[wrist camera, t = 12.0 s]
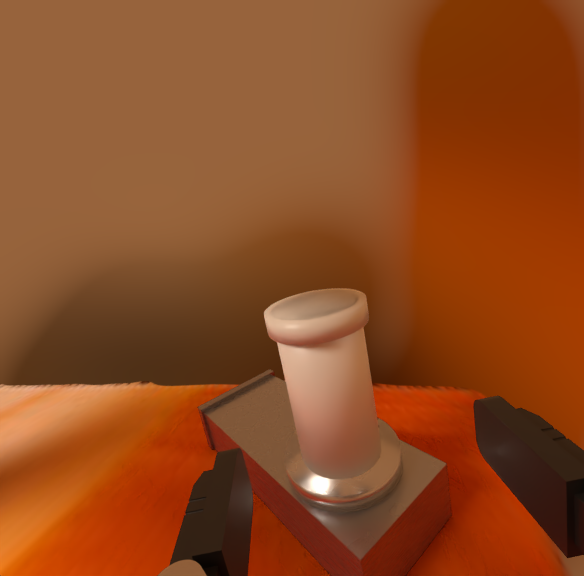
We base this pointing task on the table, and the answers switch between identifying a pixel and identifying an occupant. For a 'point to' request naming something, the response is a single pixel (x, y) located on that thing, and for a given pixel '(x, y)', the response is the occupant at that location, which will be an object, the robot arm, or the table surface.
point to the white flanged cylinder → (328, 379)
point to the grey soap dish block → (333, 485)
